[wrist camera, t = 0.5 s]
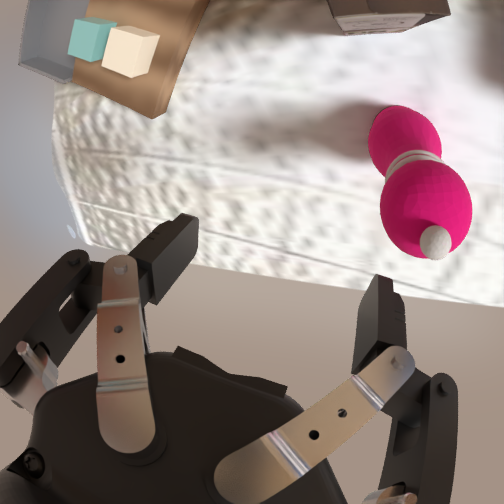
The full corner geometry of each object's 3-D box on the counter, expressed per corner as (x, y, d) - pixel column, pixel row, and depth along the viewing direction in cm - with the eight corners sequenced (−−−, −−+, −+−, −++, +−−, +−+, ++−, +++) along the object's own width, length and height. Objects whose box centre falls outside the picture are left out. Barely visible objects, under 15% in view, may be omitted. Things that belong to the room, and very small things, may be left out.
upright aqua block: (92, 16, 23) (74, 19, 21) (117, 22, 24) (99, 24, 22) (84, 49, 27) (67, 53, 25) (107, 57, 27) (90, 62, 25)
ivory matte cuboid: (128, 25, 24) (111, 27, 22) (160, 35, 24) (143, 37, 22) (118, 61, 27) (101, 65, 25) (147, 73, 28) (131, 77, 26)
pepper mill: (376, 168, 30) (378, 308, 16) (359, 107, 26) (355, 199, 12) (435, 159, 26) (491, 295, 12) (423, 96, 23) (504, 179, 9)
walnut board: (112, -21, 21) (96, -21, 19) (209, 0, 23) (196, -3, 20) (86, 76, 33) (71, 81, 31) (165, 112, 34) (151, 119, 32)
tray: (55, -23, 20) (34, -21, 17) (111, -21, 21) (86, -21, 18) (38, 58, 32) (18, 65, 28) (85, 75, 33) (62, 83, 29)
